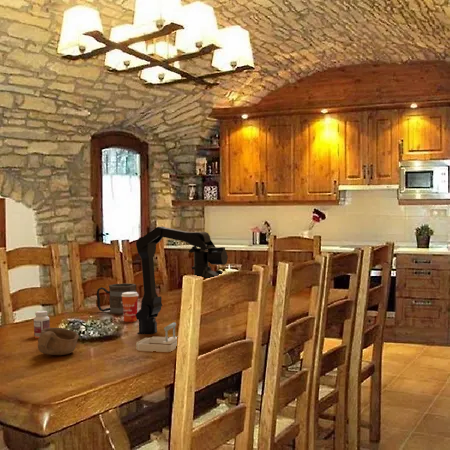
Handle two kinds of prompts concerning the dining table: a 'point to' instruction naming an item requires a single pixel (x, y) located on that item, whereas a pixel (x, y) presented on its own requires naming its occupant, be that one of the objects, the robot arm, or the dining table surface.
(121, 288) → the mug
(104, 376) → the dining table surface
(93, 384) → the dining table surface
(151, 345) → the beige square tray
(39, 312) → the pill bottle
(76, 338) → the bowl
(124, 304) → the paper cup
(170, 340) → the grey lever handle
